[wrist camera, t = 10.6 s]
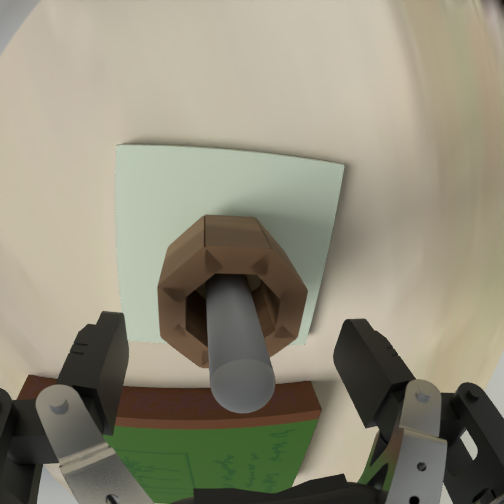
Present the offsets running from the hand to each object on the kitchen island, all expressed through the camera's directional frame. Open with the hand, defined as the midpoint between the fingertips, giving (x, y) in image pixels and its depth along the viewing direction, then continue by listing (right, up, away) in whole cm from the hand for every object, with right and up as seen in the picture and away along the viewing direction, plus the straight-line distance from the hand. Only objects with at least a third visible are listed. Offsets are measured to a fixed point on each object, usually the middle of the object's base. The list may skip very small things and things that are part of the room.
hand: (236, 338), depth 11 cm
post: (-1, +3, +7) cm, 8 cm away
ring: (-1, +2, +5) cm, 6 cm away
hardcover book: (-8, -16, +15) cm, 23 cm away
